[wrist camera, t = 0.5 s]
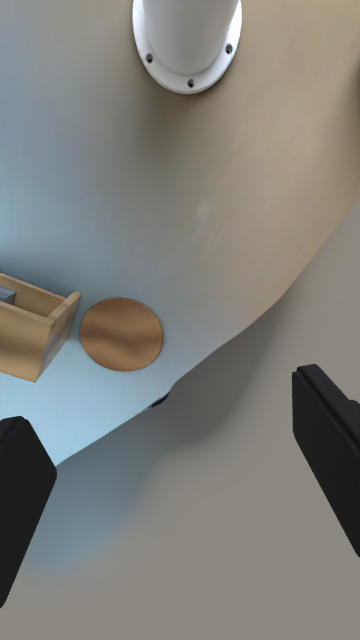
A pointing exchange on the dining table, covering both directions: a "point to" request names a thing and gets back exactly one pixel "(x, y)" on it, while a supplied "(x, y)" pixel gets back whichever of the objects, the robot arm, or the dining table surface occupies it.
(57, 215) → the dining table surface
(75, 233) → the dining table surface
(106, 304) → the disc
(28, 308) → the shelf unit
